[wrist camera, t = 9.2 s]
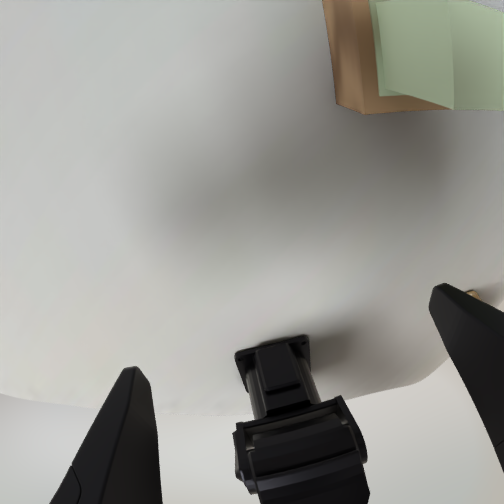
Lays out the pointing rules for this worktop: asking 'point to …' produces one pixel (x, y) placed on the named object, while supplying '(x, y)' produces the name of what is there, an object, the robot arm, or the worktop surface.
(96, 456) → the robot arm
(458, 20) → the sage block
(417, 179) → the worktop surface
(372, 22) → the base block
